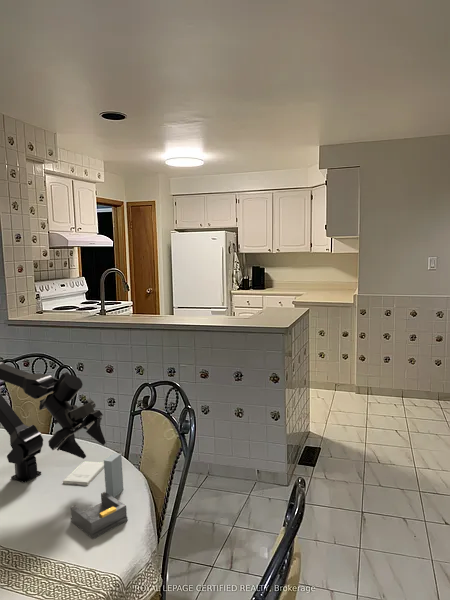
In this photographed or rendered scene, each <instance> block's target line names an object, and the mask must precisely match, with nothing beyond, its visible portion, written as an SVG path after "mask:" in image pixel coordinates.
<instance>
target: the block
mask: <svg viewBox="0 0 450 600" xmlns="http://www.w3.org/2000/svg"><path fill="white" fill-rule="evenodd" d="M122 461H123V458H122V453H117V452H113V453H112V454H110V455H109V456H107V458H105V459H104V460H103V463H104V468H103V470H104V483H105V485H104V486H105V492H106V493H108V494H109V495H111V496H112V497H114V498H115V499H116V497H117V496H119V494H121V492H123V491H124V477H123V476H124V475H123V462H122Z"/></svg>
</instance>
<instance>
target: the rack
mask: <svg viewBox="0 0 450 600" xmlns="http://www.w3.org/2000/svg"><path fill="white" fill-rule="evenodd" d="M100 497H101V498H100V499H101V501H100V502H101V503H98V504H96V505H94V506H92V507H90V508H88V509H86V510H82V509H80V508H79V507H78V506H76V505H73V506H71V507H70V514H71V515H70V516H71V517H70V522H71V523H73V524H74V525H75V526H76V527H77V528H78V529H80V530H81V531H83V532H84V533H85V534H86V535H87V536H89V537H90V538H91V539H92V540H94V539H96V538H98V537H99V536H102V535H103V534H105V533H107V532H109V531H110V530H113V529H115V528H116V527H117V526H120V525H121V524H123V523H125V522H127V521H128V520H129V519H128V515H127V514H128V513H127V505H126V504H125V503H123V502H122V501H120V500H119V499H117V498H116V497H115V498H114V497H112V496H111V495H109V494H108V493H106V491H104V492H101V493H100Z"/></svg>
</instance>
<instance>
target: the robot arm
mask: <svg viewBox="0 0 450 600" xmlns="http://www.w3.org/2000/svg"><path fill="white" fill-rule="evenodd" d="M0 381H3V382H6V383H7V384H11V385H14V386H16V387H19V388H21V389H22V390H23V392H24V393H25V394H26V396H27V395H28V396H29V397H31V398H32V399H35V400H38V399H40V398H42V397H44V396H46V397H45V398H43V399H41V400H39V406H38V407H39V411H42V410H44V409H46V410H47V411H48V413H50V415H51V416H52V417H53V418H54V420H53V424H54V425H57V424H59V425H60V427H61V429H59V430H57V431H56V432H55V433H54V434H53V435H52V436H51V438H50V439H49V440H48V447H49V448H50V449H51V450H52V451H54V450H57V452H58V451H62V452H65V453H69V454H71V455H74V456H76V457H78V458H81V459H83V460H84V459H85V458H87V455H86V453H85V452H84V450H83V449H82V448H81V446H80V445H79V443H78V442H77V441H76V438H75V437H76V435H75V434H76V433H78V432H79V431H80V430H83V429H84V430H86V431H85V433H86V434H87V435H89V436H90V437H92V438H93V439H94V440H95V441H97V442H98V443H99V444H101V445H102V446H104V445H106V440H105V437H104V434H103V431H102V428H101V421H102V419H103V416H104V414H103V413H102V412H101V411H100V410H99V409H95V408H96V403H95V401H94V400H93V399H92V398H87V399H86V400H83V402H82V403H83V404H82V405H80V406H77V405H76V404H73V405H71V403H70V402H71V400H73V398H74V397H75V396H76V395H77V394H78V392H79V391H81V389H82V387H83V381H82V380H81V378H80V377H77V376H76V375H74V374H70V373H69V372H68V371H66V372H63V373H61V375H60V376H59V378H54V377H53V376H52V375H50V374H45V373H30V372H27V371H24V370H22V369H19V368H17V367H14V366H12V365H8V364H7V363H4V362H3V361H0ZM0 425H1V426H2V427H3V428H4V430H5V431H6V433H7V434H8V435H9V439H10V441H9V442H10V443H9V445H10V448H11V450H10V451H9V453H8V454H7V456H6V458H7V459H6V460H7V461H8V463H10V464H14V473H15V474H13V475H12V476H10V478H11V479H12V480H14V481H18V482H20V483H27V482H28V481H30V480H32V479H34V478H36V477H38V476H40V475H42V471H41V470H40V471H39V470H38V462H37V457H36V455H38V454H41V452H42V448H43V446H44V438H43V436H42V433H41V432H40V431H39V430H38V428H37V426H36V425H34V424H31V425H30V426H29V425H26V424H24V423H23V421H22V420H21V418H20V417H19V415H18V414H17V413H16V412H15V410H14V409H13V408H12V407H11V406H10V404H9V403H8V401H6V398H4V397H3V395H2V394H1V393H0Z"/></svg>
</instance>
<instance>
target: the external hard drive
mask: <svg viewBox="0 0 450 600" xmlns="http://www.w3.org/2000/svg"><path fill="white" fill-rule="evenodd" d="M103 470H104V461H103V462H102V461H101V462H98V461H82V462H81V463H80V464H79V465H78V466H77V467H76V468H75V469H74V470H73V471H72V472H70V474H68V475H67V476H66V477H65V478H64V479H63V480H62V484H63V485H65V484H66V485H79V486H80V485H81V486H88V485H90V483H91V482H93V480H94V479H95V478H96V477H97V476H99V474H100V473H101V472H102V471H103Z"/></svg>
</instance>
